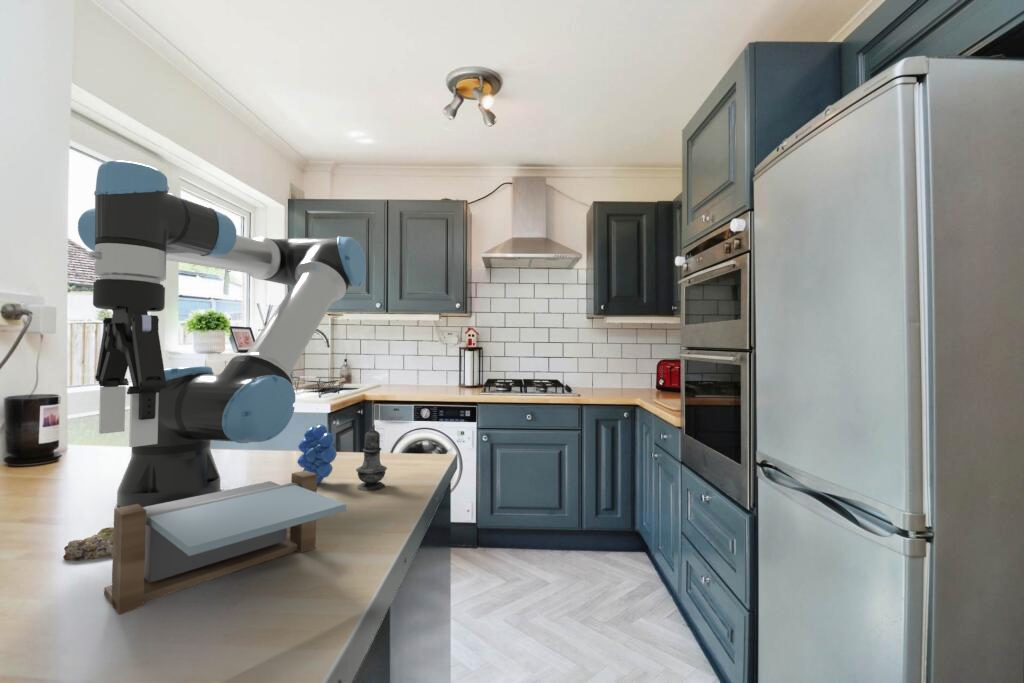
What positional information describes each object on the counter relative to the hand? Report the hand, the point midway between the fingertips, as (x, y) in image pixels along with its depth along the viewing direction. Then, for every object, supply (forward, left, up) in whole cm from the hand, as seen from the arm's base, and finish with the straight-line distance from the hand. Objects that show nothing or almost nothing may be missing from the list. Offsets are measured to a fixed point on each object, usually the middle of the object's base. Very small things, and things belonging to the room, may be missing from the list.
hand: (126, 438), depth 63 cm
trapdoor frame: (+16, +6, -15) cm, 23 cm away
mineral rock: (-1, 0, -15) cm, 15 cm away
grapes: (-9, +33, -15) cm, 38 cm away
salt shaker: (+1, +38, -15) cm, 41 cm away
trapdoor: (+21, +6, -13) cm, 26 cm away
